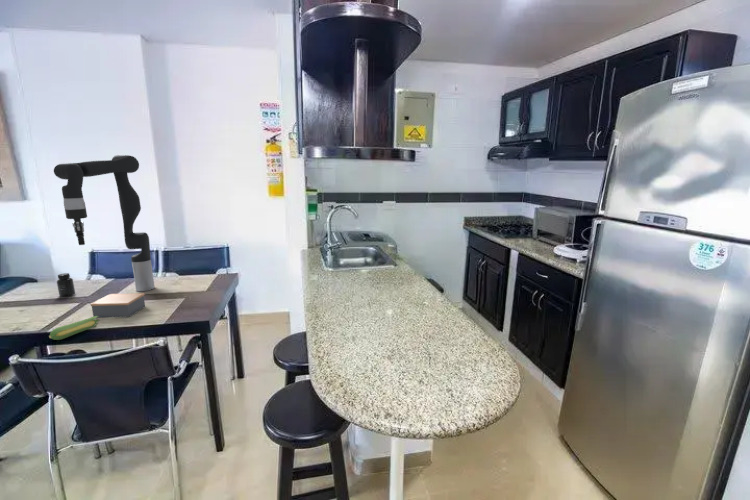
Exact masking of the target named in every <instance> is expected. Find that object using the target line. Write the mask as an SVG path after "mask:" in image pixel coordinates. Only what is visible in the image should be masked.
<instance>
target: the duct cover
mask: <svg viewBox="0 0 750 500" xmlns="http://www.w3.org/2000/svg"><path fill="white" fill-rule="evenodd" d="M145 295H146V294H145V293H144V292H142V293H141V292H137V293H136V292H132V293H129V292H128V293H109V294H107V295H105V296H104V297H102V298H99V299H97V300H95V301H93V302H91V303H90V306H91V307H92V306H110V305H129V304H131V303H132V302H134V301H136V300H137V299H139V298H141V297H142V296H144V297H145Z"/></svg>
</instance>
